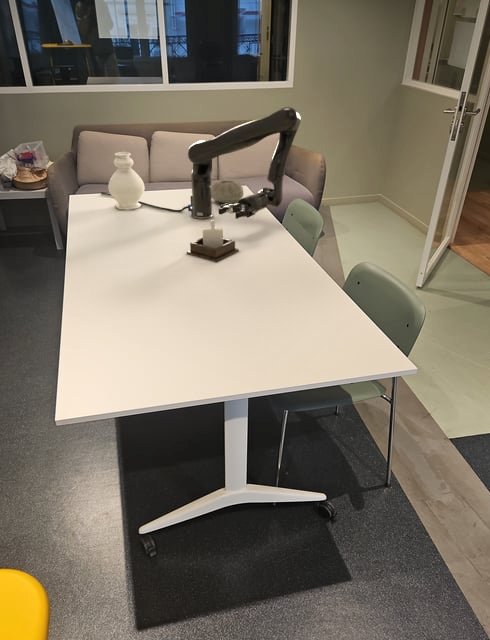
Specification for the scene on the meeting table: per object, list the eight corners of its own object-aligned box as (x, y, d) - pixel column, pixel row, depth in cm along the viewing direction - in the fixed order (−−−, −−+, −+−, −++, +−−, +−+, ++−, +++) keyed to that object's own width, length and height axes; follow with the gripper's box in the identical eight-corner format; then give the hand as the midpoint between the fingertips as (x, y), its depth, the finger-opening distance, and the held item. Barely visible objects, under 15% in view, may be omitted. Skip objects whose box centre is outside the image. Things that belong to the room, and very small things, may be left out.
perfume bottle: (203, 251, 203) (202, 221, 196) (203, 249, 204) (202, 219, 198) (223, 251, 203) (222, 221, 196) (223, 249, 205) (222, 219, 198)
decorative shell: (216, 207, 257) (215, 187, 251) (205, 198, 271) (204, 179, 265) (248, 204, 263) (248, 184, 257) (236, 195, 276) (236, 176, 270)
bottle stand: (186, 254, 203) (186, 243, 200) (209, 243, 213) (209, 233, 210) (216, 262, 196) (216, 251, 193) (238, 251, 206) (238, 240, 203)
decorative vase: (129, 199, 267) (123, 148, 253) (153, 205, 259) (148, 152, 245) (103, 207, 256) (95, 154, 241) (128, 213, 247) (121, 158, 233)
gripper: (236, 193, 216) (213, 201, 205) (264, 198, 209) (242, 207, 198) (236, 211, 220) (213, 219, 209) (263, 217, 214) (241, 226, 203)
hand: (227, 213), depth 204 cm, fingers open, 8 cm apart
